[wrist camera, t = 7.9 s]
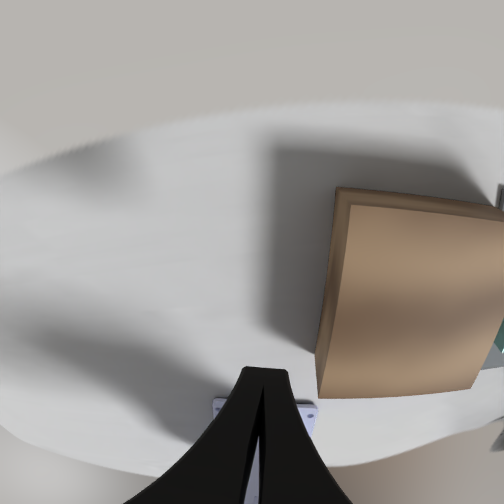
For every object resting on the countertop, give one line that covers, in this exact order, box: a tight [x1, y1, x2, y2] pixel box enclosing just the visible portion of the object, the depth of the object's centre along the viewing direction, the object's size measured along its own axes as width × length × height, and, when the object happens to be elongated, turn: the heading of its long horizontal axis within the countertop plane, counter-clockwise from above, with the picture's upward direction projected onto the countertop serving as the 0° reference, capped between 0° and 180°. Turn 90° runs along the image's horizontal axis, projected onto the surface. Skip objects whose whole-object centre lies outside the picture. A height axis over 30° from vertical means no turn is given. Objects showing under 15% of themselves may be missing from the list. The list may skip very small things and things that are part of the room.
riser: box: [315, 187, 504, 399], centre depth 16 cm, size 11×10×4 cm
